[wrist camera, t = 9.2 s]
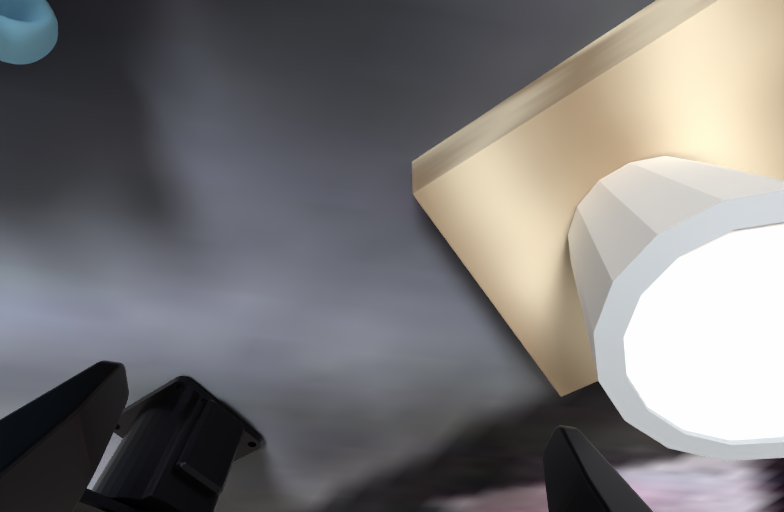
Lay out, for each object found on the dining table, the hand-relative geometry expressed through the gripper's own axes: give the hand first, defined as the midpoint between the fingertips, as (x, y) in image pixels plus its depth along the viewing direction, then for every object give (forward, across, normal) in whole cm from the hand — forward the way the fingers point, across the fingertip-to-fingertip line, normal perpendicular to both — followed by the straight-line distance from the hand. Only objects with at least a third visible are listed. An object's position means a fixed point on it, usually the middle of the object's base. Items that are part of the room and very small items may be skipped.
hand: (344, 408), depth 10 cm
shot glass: (+8, -10, -2) cm, 13 cm away
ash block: (+13, -10, -1) cm, 16 cm away
